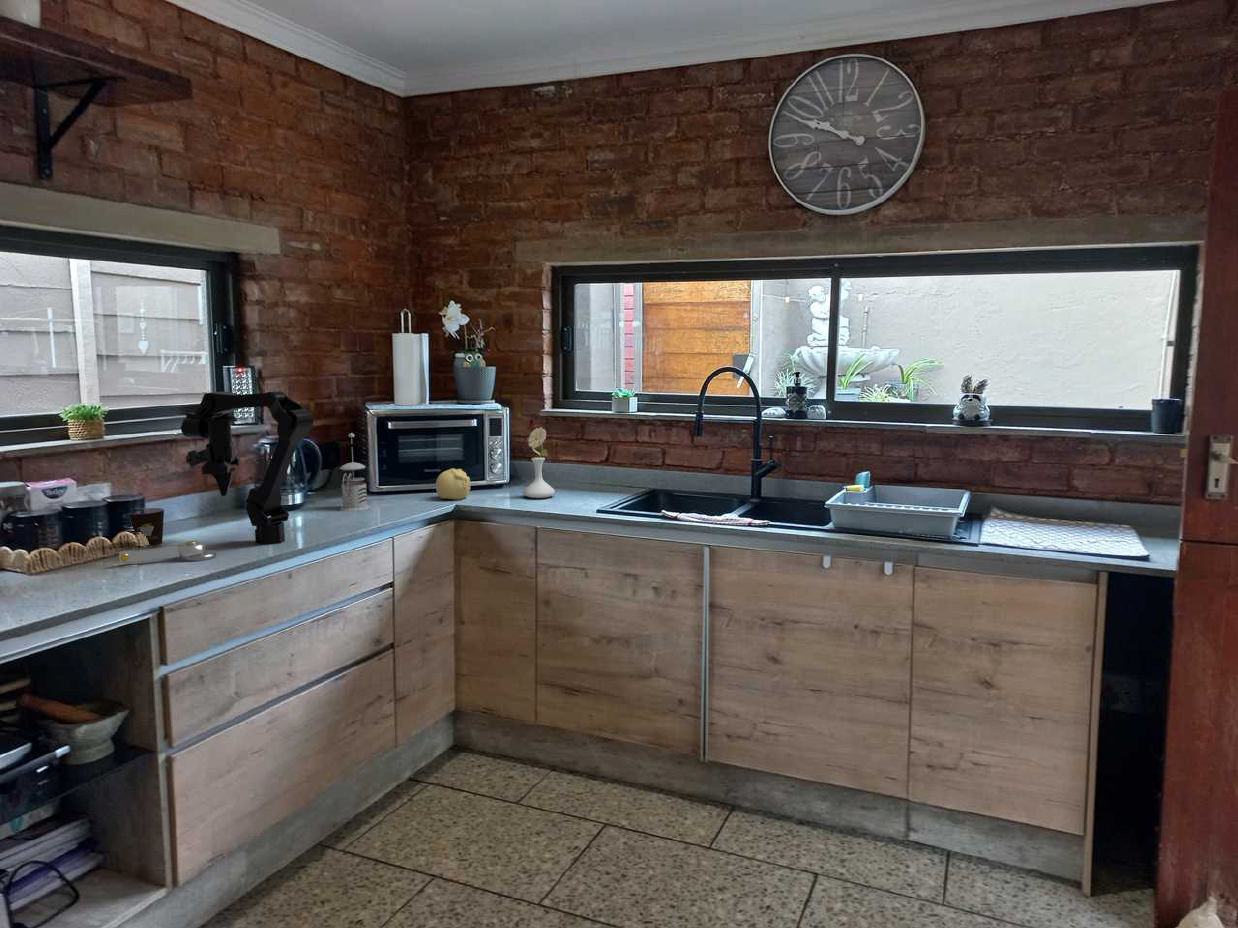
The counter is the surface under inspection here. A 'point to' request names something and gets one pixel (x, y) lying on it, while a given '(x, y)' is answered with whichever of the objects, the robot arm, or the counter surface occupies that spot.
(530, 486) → the flower in vase
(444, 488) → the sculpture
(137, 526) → the coffee mug
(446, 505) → the counter surface
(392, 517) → the counter surface
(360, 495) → the french press
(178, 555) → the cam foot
